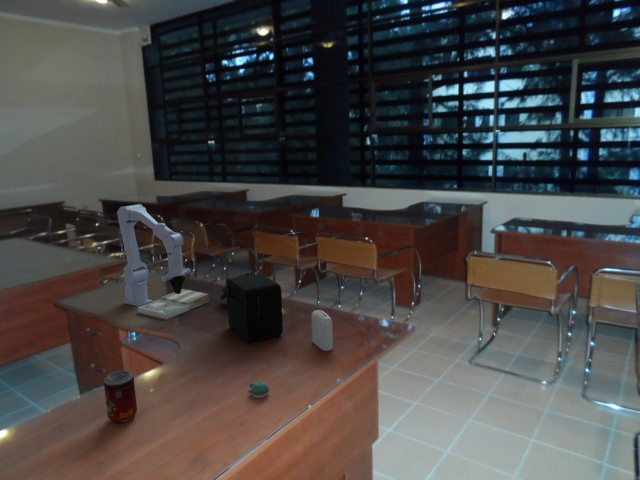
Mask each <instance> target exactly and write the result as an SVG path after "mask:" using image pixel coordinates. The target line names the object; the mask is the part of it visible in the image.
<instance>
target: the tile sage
mask: <svg viewBox="0 0 640 480" xmlns="http://www.w3.org/2000/svg"><path fill="white" fill-rule="evenodd" d="M179 308H181V307H178V306H173V305H171V306H169V307H166V308H164V309H163V313H169V312H171V311H174V310H176V309H179Z"/></svg>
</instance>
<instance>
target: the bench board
mask: <svg viewBox="0 0 640 480" xmlns="http://www.w3.org/2000/svg"><path fill="white" fill-rule="evenodd" d="M160 299H162V300H167V301H171V302H176V303H180V304H185V305H188V309H189V311H191V310H192V309H195V308H198V307H200V306H202V305H204V304H206V303H209V302H210V293H204V292H199V291H194V290H191V289H186V288H185V289H184V288H181V293H180V294H175V292H174V291H173V292H172V293H167V294H166V295H164V296H161V297H160Z"/></svg>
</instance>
